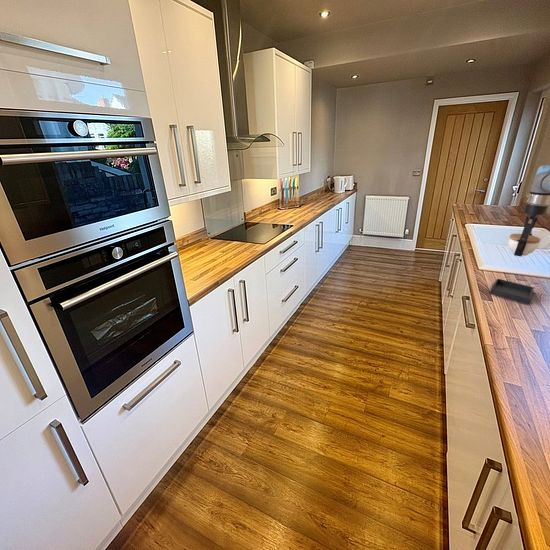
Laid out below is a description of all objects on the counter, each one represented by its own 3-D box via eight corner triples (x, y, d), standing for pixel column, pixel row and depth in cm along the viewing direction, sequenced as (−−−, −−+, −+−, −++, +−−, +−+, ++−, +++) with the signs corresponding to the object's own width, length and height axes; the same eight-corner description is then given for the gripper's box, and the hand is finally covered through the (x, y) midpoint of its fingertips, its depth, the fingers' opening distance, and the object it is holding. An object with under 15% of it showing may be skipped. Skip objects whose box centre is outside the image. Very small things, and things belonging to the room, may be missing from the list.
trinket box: (509, 256, 130) (516, 236, 126) (501, 248, 140) (507, 229, 136) (538, 258, 127) (546, 238, 123) (528, 250, 136) (535, 231, 132)
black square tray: (532, 292, 131) (534, 287, 129) (528, 304, 122) (530, 299, 121) (495, 283, 139) (497, 278, 138) (489, 293, 130) (491, 288, 129)
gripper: (529, 199, 134) (513, 244, 143) (522, 207, 119) (505, 257, 128) (550, 201, 129) (532, 247, 138) (546, 210, 114) (526, 261, 123)
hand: (519, 252), depth 133 cm, fingers closed on trinket box, 11 cm apart
